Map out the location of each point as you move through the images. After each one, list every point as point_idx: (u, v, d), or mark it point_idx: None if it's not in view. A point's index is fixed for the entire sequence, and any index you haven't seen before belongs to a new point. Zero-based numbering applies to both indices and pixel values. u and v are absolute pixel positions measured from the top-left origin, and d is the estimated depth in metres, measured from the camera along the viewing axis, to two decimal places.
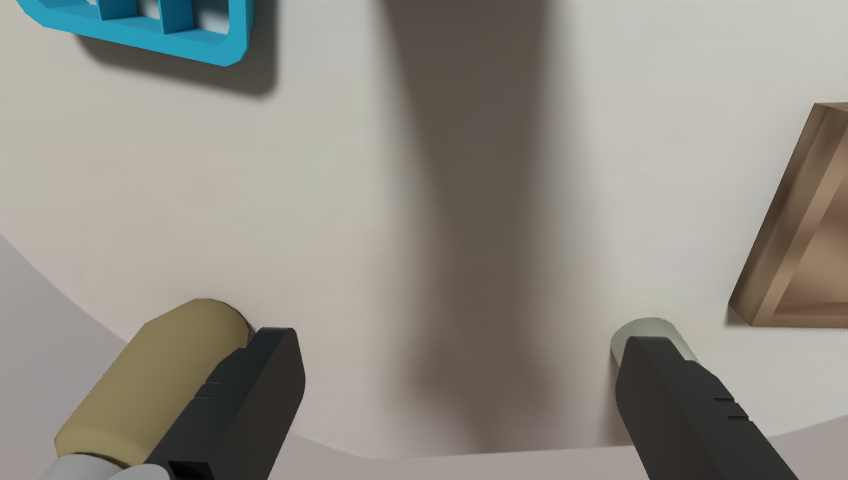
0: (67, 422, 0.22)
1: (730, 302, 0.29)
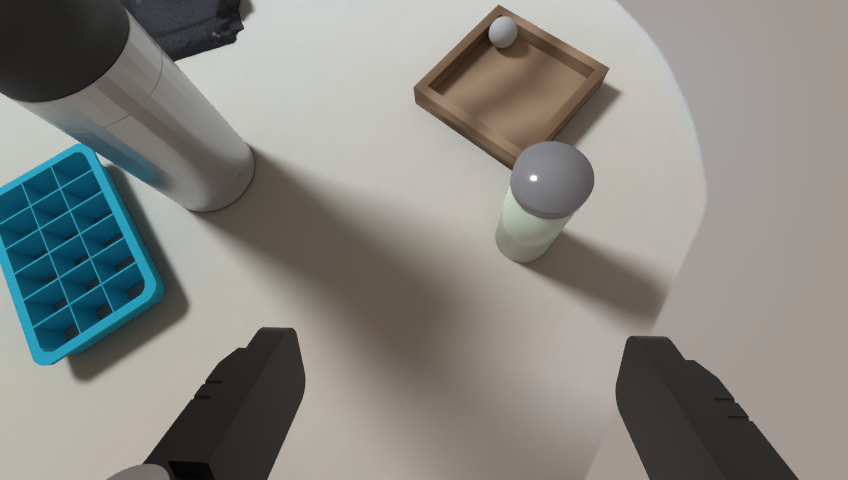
0: None
1: None
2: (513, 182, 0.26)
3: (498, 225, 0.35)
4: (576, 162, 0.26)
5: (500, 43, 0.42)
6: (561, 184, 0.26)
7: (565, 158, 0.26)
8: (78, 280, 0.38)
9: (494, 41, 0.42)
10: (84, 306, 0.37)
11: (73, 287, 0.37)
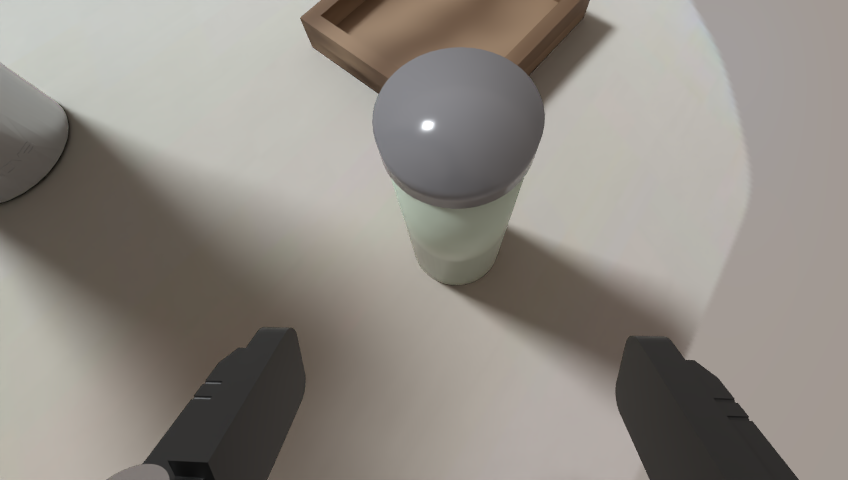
0: None
1: None
2: None
3: None
4: (507, 87, 0.12)
5: None
6: (474, 131, 0.12)
7: (485, 79, 0.12)
8: None
9: None
10: None
11: None
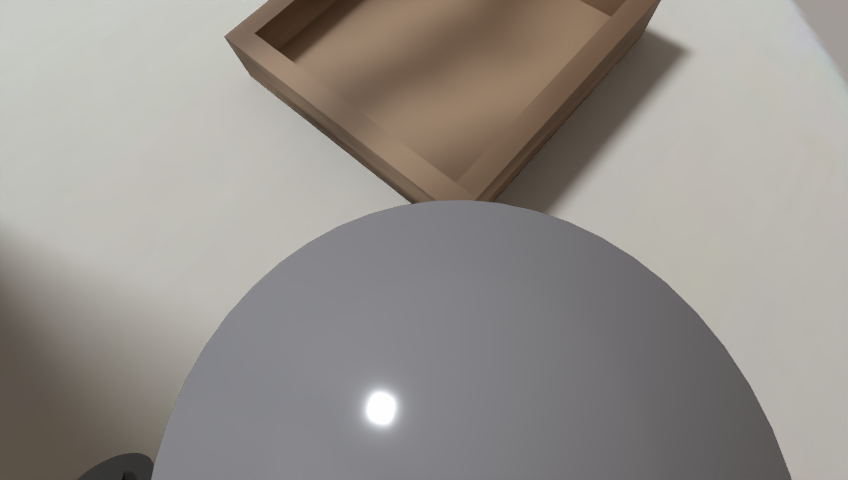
0: None
1: None
2: None
3: None
4: (639, 375, 0.03)
5: None
6: None
7: (556, 336, 0.04)
8: None
9: None
10: None
11: None
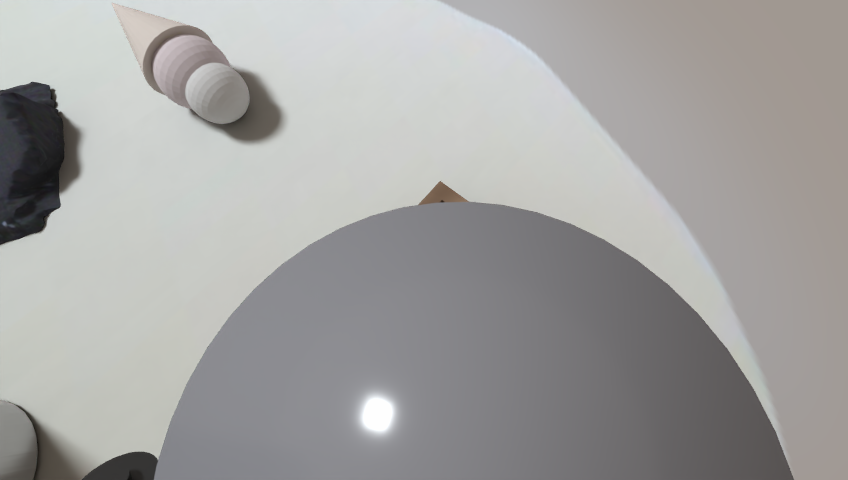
0: None
1: None
2: None
3: None
4: (642, 379, 0.03)
5: None
6: None
7: (558, 338, 0.04)
8: None
9: None
10: None
11: None
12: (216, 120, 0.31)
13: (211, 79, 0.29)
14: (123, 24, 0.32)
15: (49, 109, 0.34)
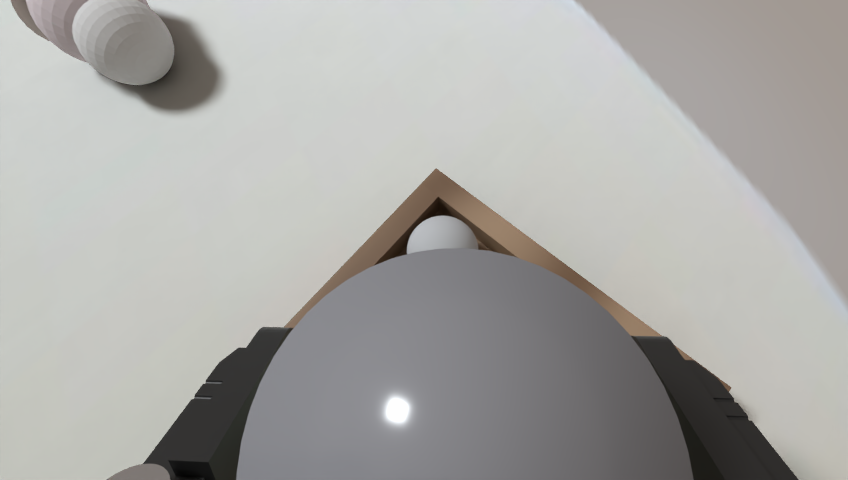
0: None
1: None
2: None
3: None
4: (587, 380, 0.05)
5: None
6: None
7: (528, 351, 0.05)
8: None
9: None
10: None
11: None
12: (122, 78, 0.22)
13: (107, 16, 0.20)
14: None
15: None
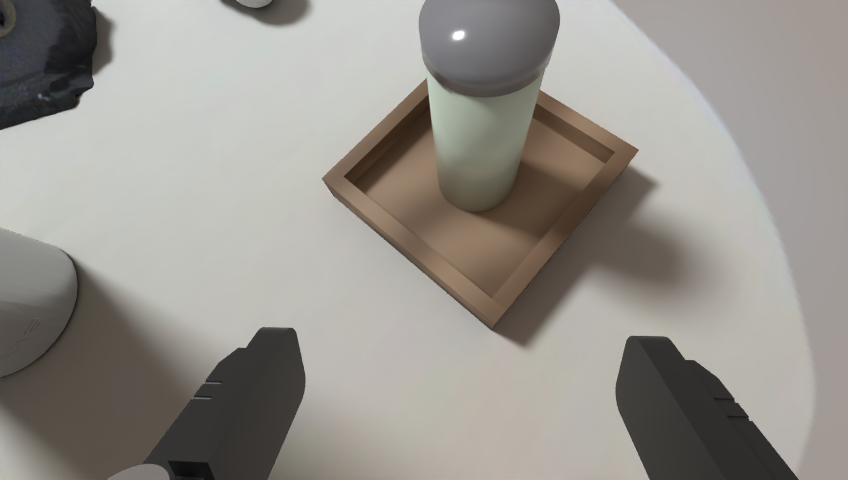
0: None
1: (489, 328, 0.24)
2: None
3: None
4: None
5: None
6: (502, 30, 0.15)
7: None
8: None
9: None
10: None
11: None
12: (247, 0, 0.33)
13: None
14: None
15: None
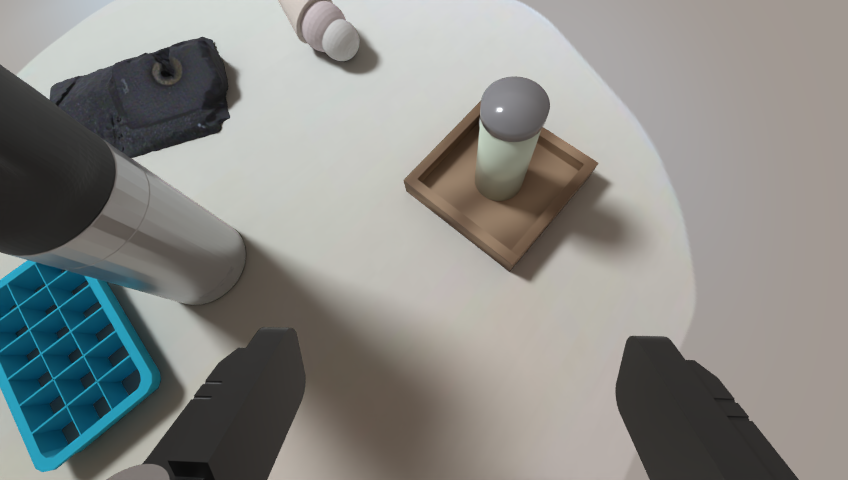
0: None
1: (508, 270, 0.39)
2: (481, 110, 0.31)
3: None
4: (535, 93, 0.31)
5: None
6: (522, 110, 0.30)
7: (526, 90, 0.31)
8: (73, 377, 0.38)
9: None
10: (81, 404, 0.37)
11: (68, 385, 0.38)
12: (339, 57, 0.48)
13: (342, 29, 0.46)
14: None
15: (218, 54, 0.50)
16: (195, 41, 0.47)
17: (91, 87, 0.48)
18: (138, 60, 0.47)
